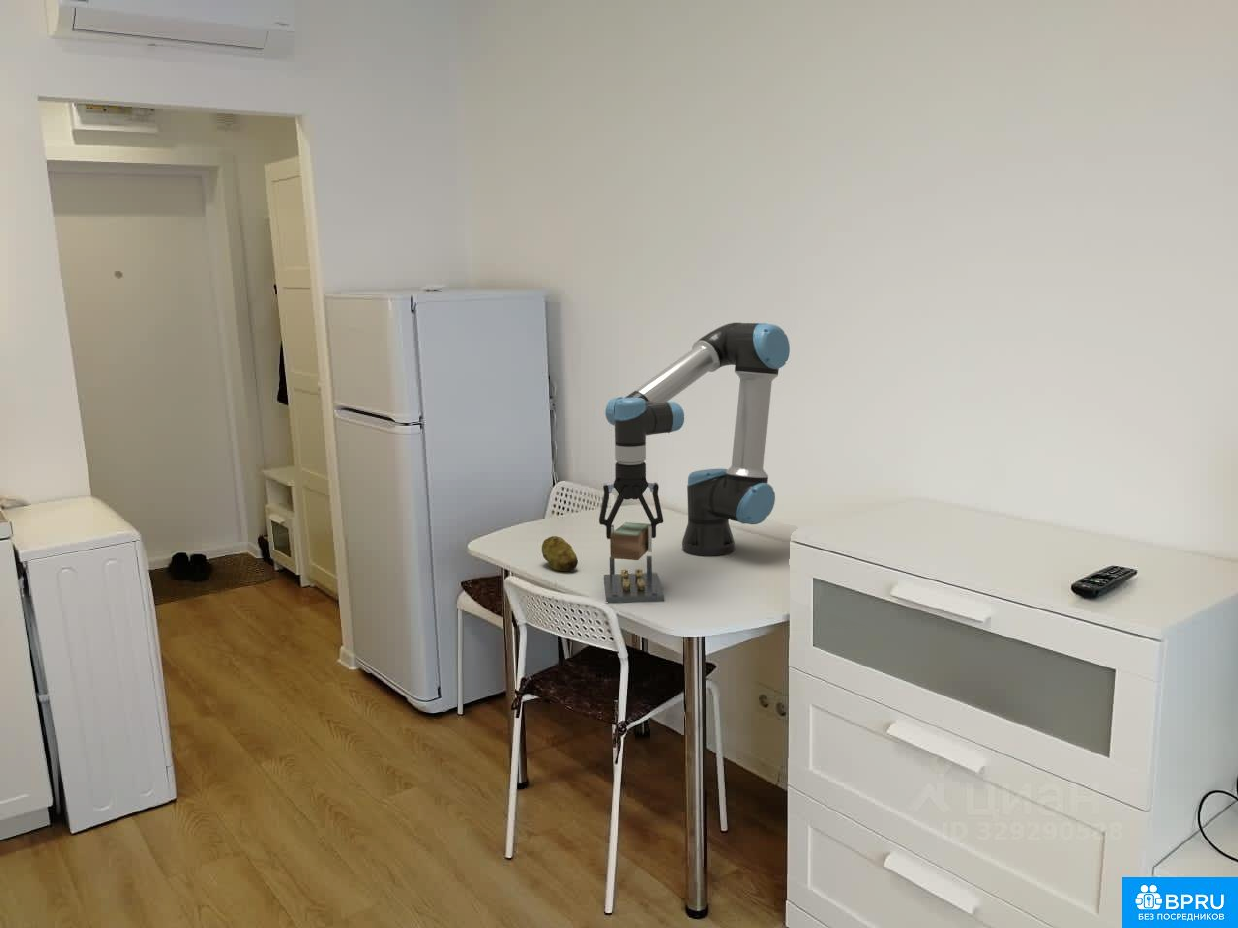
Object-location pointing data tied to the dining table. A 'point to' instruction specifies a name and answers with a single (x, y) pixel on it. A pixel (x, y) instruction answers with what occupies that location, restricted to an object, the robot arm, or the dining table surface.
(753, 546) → the dining table surface
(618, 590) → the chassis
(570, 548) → the potato
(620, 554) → the block
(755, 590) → the dining table surface
